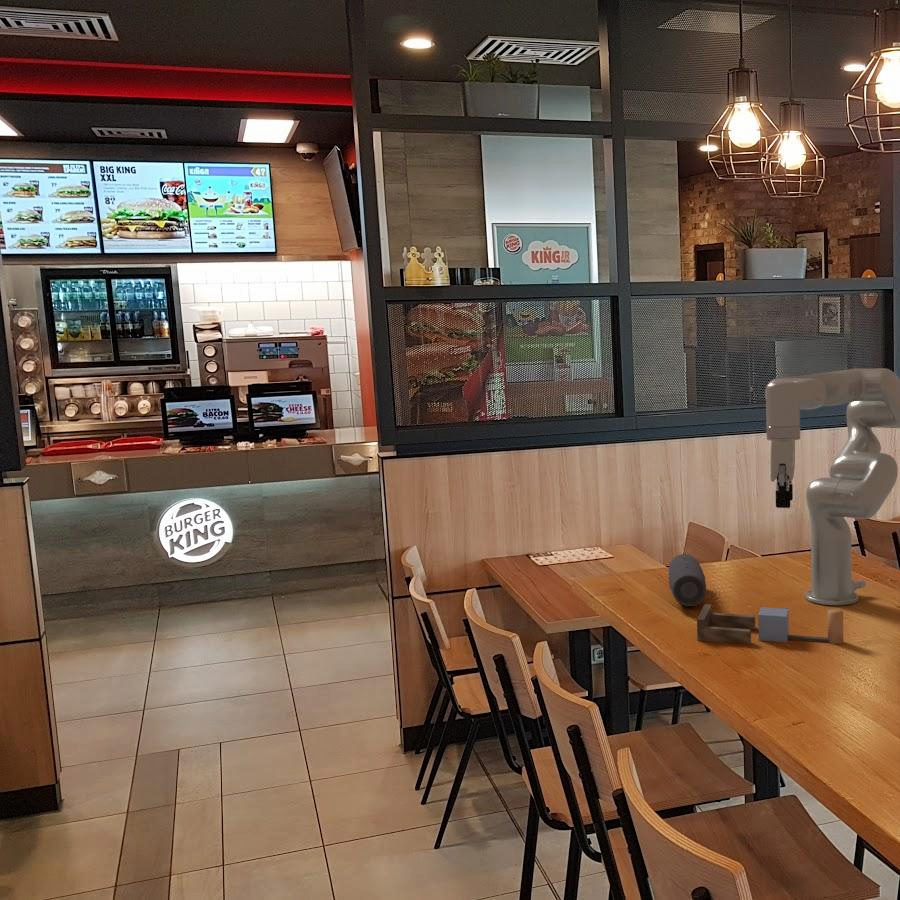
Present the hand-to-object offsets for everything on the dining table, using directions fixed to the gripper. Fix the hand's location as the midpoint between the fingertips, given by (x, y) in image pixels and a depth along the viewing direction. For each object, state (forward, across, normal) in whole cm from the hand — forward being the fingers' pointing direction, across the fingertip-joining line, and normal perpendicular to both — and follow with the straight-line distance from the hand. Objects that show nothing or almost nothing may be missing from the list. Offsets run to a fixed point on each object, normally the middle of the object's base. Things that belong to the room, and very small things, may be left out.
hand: (784, 503), depth 214 cm
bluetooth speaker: (+29, -11, -26) cm, 40 cm away
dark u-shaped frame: (+28, +16, -11) cm, 34 cm away
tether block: (+28, +15, +4) cm, 32 cm away
